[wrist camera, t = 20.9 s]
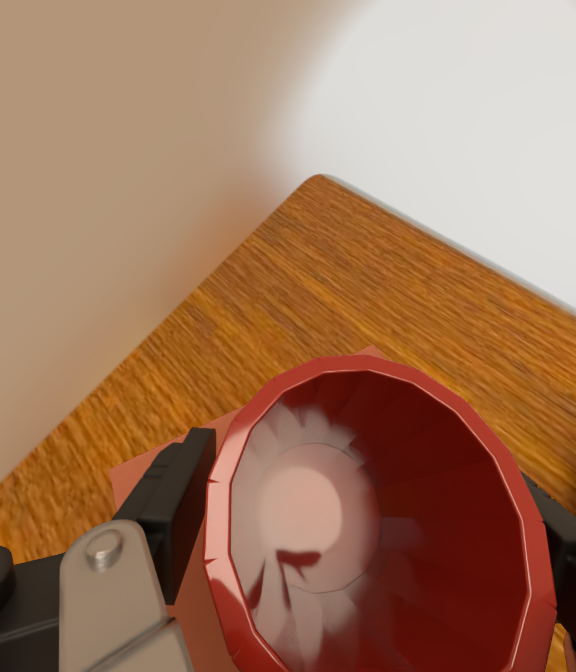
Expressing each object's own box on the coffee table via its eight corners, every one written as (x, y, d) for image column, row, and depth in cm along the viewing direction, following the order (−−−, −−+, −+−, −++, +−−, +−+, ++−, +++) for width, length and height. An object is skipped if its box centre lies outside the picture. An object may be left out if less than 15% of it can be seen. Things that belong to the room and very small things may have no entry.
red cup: (285, 647, 11) (316, 963, 3) (222, 475, 14) (161, 427, 6) (416, 545, 13) (634, 592, 5) (336, 414, 16) (397, 319, 8)
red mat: (187, 852, 9) (182, 872, 8) (114, 471, 14) (108, 469, 14) (524, 548, 13) (534, 549, 13) (370, 348, 19) (373, 343, 18)
